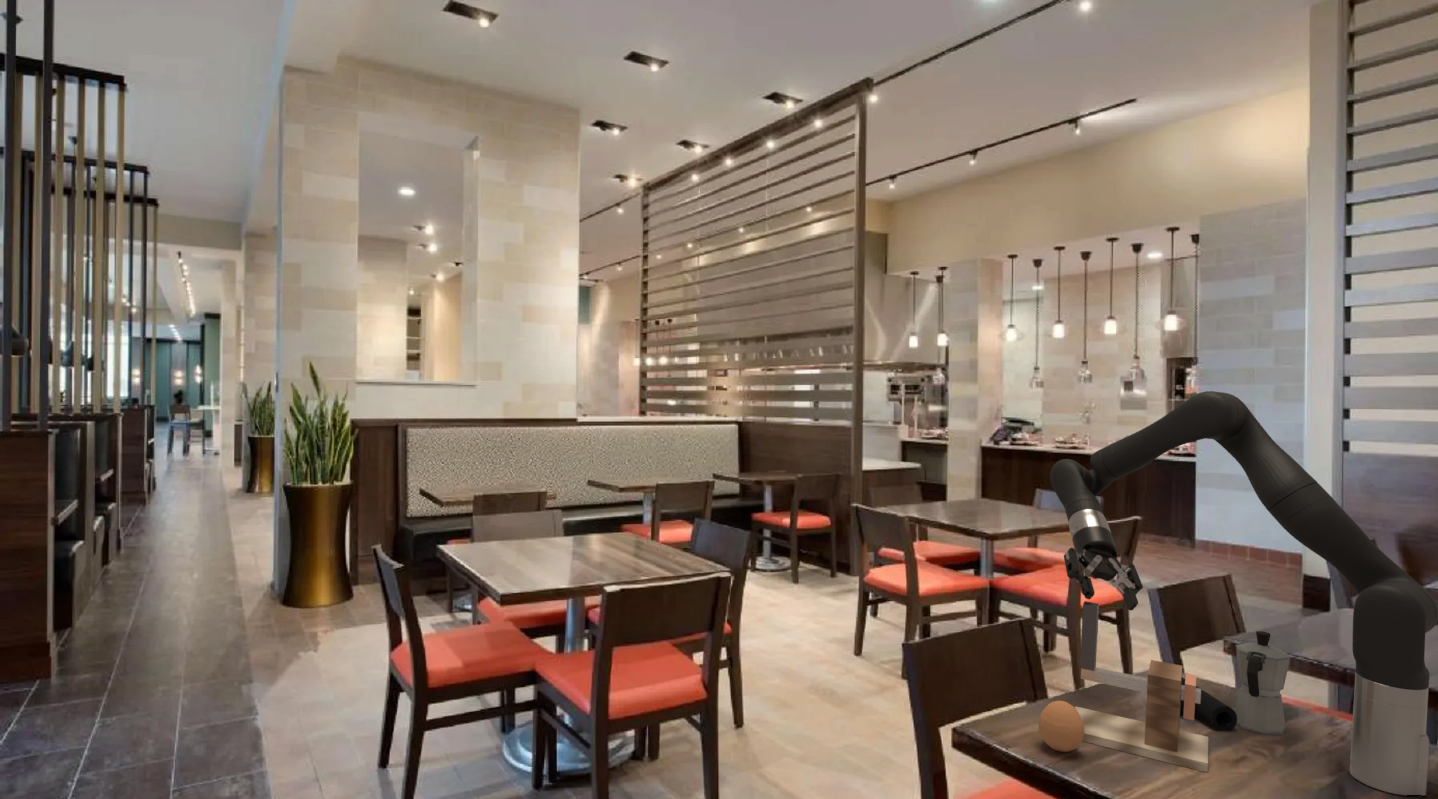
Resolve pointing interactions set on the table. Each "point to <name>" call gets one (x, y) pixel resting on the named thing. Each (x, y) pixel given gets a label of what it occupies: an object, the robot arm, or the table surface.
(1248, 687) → the coffee maker
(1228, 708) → the pipe connector
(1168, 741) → the block
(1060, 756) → the table surface
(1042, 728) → the egg
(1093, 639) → the gray l-shaped bracket
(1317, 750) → the table surface
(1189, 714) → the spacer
